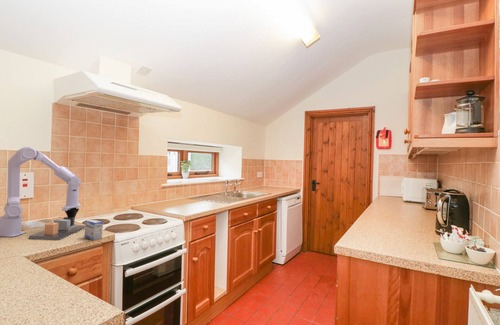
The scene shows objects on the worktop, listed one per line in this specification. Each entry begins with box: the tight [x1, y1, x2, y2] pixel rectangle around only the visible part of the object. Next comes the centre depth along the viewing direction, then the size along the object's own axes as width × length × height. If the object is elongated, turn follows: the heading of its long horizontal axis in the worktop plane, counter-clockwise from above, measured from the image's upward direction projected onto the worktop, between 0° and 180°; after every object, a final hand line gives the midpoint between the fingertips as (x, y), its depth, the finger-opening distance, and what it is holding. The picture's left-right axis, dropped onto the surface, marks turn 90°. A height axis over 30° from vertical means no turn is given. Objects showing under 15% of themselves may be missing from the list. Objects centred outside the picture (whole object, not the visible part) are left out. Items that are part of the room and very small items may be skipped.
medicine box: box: [84, 219, 104, 241], centre depth 138 cm, size 8×4×9 cm, turn 62°
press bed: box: [28, 223, 85, 241], centre depth 144 cm, size 14×24×4 cm, turn 4°
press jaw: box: [52, 216, 76, 230], centre depth 148 cm, size 7×9×5 cm
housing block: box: [44, 220, 59, 235], centre depth 137 cm, size 4×4×6 cm
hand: (71, 221), depth 153 cm, fingers closed
